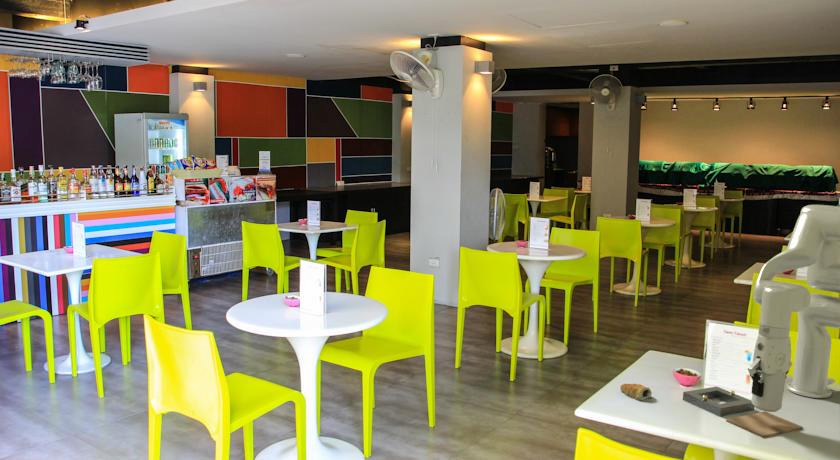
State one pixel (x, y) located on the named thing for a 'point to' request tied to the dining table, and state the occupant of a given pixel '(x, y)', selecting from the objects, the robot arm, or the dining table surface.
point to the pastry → (636, 391)
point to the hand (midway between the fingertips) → (767, 393)
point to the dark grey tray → (731, 407)
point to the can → (770, 392)
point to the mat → (764, 424)
